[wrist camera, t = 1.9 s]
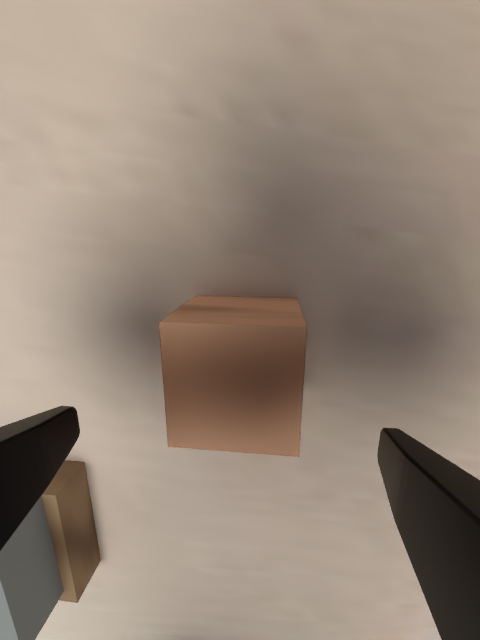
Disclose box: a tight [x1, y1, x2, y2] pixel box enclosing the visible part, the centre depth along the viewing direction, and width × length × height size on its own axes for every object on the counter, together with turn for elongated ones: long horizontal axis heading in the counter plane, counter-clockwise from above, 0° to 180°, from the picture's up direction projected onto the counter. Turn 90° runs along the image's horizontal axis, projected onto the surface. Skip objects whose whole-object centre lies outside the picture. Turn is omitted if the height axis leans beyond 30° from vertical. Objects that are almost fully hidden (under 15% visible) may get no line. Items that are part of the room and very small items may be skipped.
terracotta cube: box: [159, 296, 307, 457], centre depth 13 cm, size 5×5×5 cm
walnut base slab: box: [41, 461, 101, 603], centre depth 19 cm, size 8×8×3 cm
